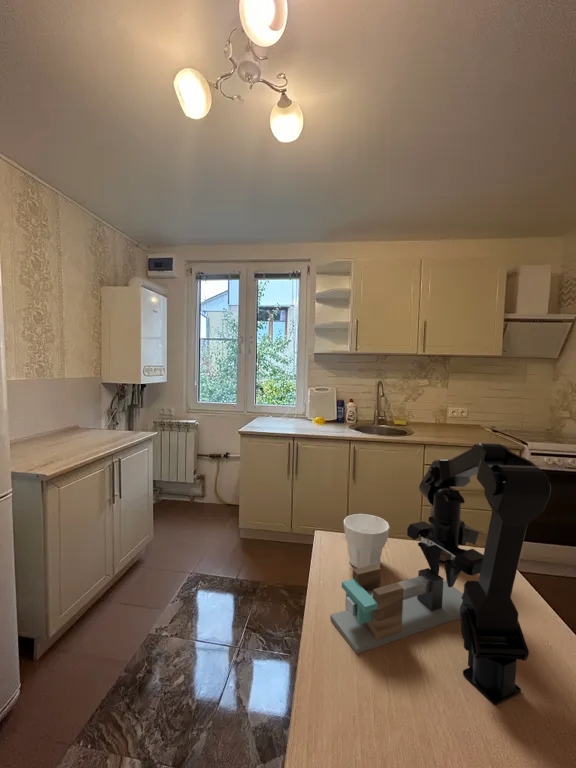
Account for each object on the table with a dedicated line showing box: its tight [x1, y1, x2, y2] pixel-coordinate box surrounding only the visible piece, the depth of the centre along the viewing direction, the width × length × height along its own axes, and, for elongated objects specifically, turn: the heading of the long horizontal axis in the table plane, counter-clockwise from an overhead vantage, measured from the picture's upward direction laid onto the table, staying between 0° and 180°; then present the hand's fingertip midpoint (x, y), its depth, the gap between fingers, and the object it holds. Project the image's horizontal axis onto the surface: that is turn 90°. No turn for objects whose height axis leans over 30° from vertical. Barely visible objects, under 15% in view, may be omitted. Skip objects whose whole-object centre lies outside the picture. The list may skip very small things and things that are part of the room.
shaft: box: [345, 567, 444, 616], centre depth 77 cm, size 4×23×7 cm, turn 113°
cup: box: [343, 513, 390, 569], centre depth 99 cm, size 12×12×11 cm
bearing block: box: [352, 564, 403, 640], centre depth 75 cm, size 9×6×10 cm, turn 23°
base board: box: [329, 580, 464, 655], centre depth 79 cm, size 10×33×1 cm, turn 113°
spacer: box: [341, 578, 378, 625], centre depth 73 cm, size 8×3×5 cm, turn 23°
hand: (443, 581), depth 82 cm, fingers open, 4 cm apart
